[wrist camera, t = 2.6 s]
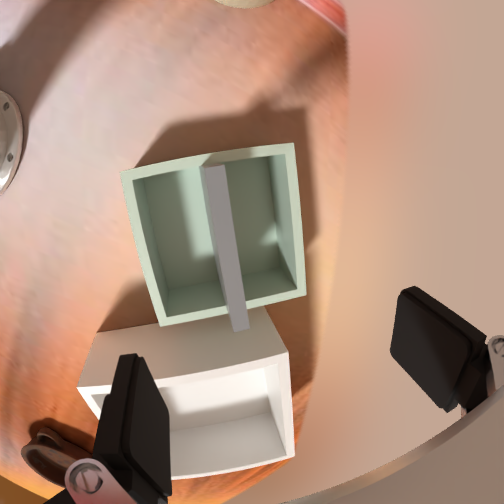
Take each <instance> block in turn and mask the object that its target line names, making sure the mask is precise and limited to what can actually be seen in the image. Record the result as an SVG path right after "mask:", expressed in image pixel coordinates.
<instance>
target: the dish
mask: <svg viewBox="0 0 504 504" xmlns="http://www.w3.org/2000/svg"><path fill="white" fill-rule="evenodd" d="M21 455H22V457H23V459H24V461H25V462H26V463H27V464H28V465H29V466H30V467H31V468H32V469H33V470H34V471H35V472H36V473H38V474H39V475H40V476H42V477H43V478H45V479H46V480H48V481H50V482H52V483H54V484H56V485H58V486H61V487H63V488H66V485H65V475H66V471H67V470H68V468H69V467H70V466H71V465H72V464H73V463H74V462H76V461H78V460H80V459H86V458H89V459H92V455H91V454H90V453H88V452H86V451H85V450H83V449H82V448H80V447H78V446H76V445H74V444H72V443H69V442H67V441H64V440H63V439H62V438H61V437H60V436H59V435H58V434H57V433H56V432H55V431H53V430H52V429H50V428H46V427H43V428H41V429H40V430H39V432H38V433H37V437H35V438H33V439H32V440H31V441H30V442H29V443H28V444H27V445H26V446H24V447H23V448H22V450H21Z"/></svg>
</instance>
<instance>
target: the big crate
mask: <svg viewBox="0 0 504 504" xmlns="http://www.w3.org/2000/svg"><path fill="white" fill-rule="evenodd" d="M247 313H248V319H249V325H250V329H247V330H243V331H238V332H233V328H232V325H231V321H230V318H229V314H223V315H218V316H213V317H209V318H204V319H199V320H194V321H188V322H183V323H178V324H173V325H167V326H162V327H160V325H159V323H154V324H148V325H142V326H136V327H130V328H124V329H118V330H111V331H105V332H98V333H96V335H95V338H94V340H93V343H92V346H91V348H90V351H89V354H88V356H87V359H86V362H85V365H84V367H83V370H82V373H81V376H80V379H79V382H78V385H77V389H78V390H79V392H80V393H81V395H82V396H83V398H84V399H85V401H86V402H87V404H88V405H89V407H90V408H91V410H92V411H93V412H94V414H95V415H96V417H97V418H98V419H100V414H101V410H102V406H103V401H104V398H105V396H106V395H107V394H110V391H111V387H112V383H113V379H114V375H115V371H116V367H117V363H118V359H119V356H120V355H124V354H132V353H137V354H138V356H139V357H144V359H145V361H146V363H147V366H148V368H149V370H150V372H151V375H152V377H153V379H154V381H155V383H156V385H157V388H158V390H159V392H160V394H161V396H162V398H163V400H164V402H165V404H166V406H167V408H168V411H169V416H170V461H171V480H175V479H186V478H195V477H203V476H210V475H216V474H222V473H228V472H233V471H239V470H243V469H248V468H253V467H257V466H261V465H265V464H269V463H273V462H277V461H281V460H284V459H288V458H291V457H294V456H295V451H294V431H293V413H292V396H291V381H290V367H289V353H288V350H287V348H286V346H285V345H284V343H283V341H282V339H281V337H280V335H279V333H278V331H277V330H276V328H275V326H274V324H273V322H272V320H271V318H270V316H269V315H268V313H267V311H266V309H265V307H264V306H259V307H255V308H250V309H247Z"/></svg>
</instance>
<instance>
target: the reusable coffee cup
mask: <svg viewBox="0 0 504 504" xmlns="http://www.w3.org/2000/svg"><path fill="white" fill-rule="evenodd" d="M215 1H217V2H219V3H221V4H224V5H227V6H231V7H235V8H256V7H261V6H264V5H267V4H269V3H271V2H273V1H274V0H215Z"/></svg>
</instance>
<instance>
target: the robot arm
mask: <svg viewBox="0 0 504 504" xmlns="http://www.w3.org/2000/svg"><path fill="white" fill-rule="evenodd" d="M22 142H23V125H22V118H21V114H20V111H19V108H18V106H17V104H16V102H15V100H14V99H13V98H12V97H11V96H10V95H9V94H7V93H5V92H3V91H0V195H1V194H2V193H3V192H4V191H5V190H6V188H7V187H8V185H9V184H10V182H11V180H12V178H13V176H14V174H15V172H16V169H17V166H18V163H19V159H20V155H21V150H22ZM486 337H487V336H486V335H485V334H484V333H482V332H481V331H480V330H478V329H477V328H475V327H474V326H473V325H471V324H470V323H469V322H467V321H466V320H464V319H463V318H462V317H460V316H459V315H457V314H456V313H455V312H453V311H452V310H450V309H448V308H447V307H446V306H445V305H443V304H442V303H440V302H439V301H437V300H436V299H434V298H433V297H431V296H430V295H429V294H427V293H426V292H424V291H422V290H421V289H420V288H418V287H416V286H412V287H409V288H406V289H404V290H402V291H401V293H400V295H399V296H398V300H397V308H396V315H395V322H394V329H393V335H392V341H391V347H390V353H391V355H392V357H393V358H394V359H395V360H396V361H397V362H398V364H399V365H400V366H401V367H402V368H403V369H404V370H405V371H406V372H407V373H408V374H409V375H410V376H411V377H412V379H413V380H414V381H415V382H416V383H417V384H418V385H419V386H420V387H421V388H422V390H423V391H424V392H426V394H427V395H428V396H429V397H430V398H431V399H432V401H434V403H435V404H436V405H437V406H438V407H439V408H443V409H444V410H445V411H446V412H447V413H448V412H450V411H451V410H452V409H454V408H455V407H457V405H458V403H459V404H460V405H461V419H460V420H458V421H457V422H455V423H454V424H453V425H451V426H450V427H448V428H447V429H446V430H444V431H442V432H441V433H439V434H438V435H436V436H435V437H433V438H432V439H430V440H428V441H427V442H425V443H423V444H422V445H420V446H419V447H417V448H415V449H414V450H411V451H410V452H408V453H406V454H404V455H402V456H401V457H399V458H397V459H395V460H393V461H391V462H389V463H387V464H385V465H383V466H381V467H379V468H377V469H375V470H373V471H370V472H368V473H366V474H364V475H362V476H359V477H357V478H355V479H352V480H350V481H347V482H345V483H342V484H340V485H337V486H335V487H332V488H329V489H326V490H323V491H320V492H317V493H314V494H311V495H309V496H305V497H302V498H299V499H295V500H291V501H288V502H284V503H280V504H504V336H502V335H498V336H494V337H492V338H491V339H490V340H489V342H488V344H487V345H486V344H485V340H486ZM65 485H66V488H65V489H64V490H62V491H61V492H60V493H58V494H57V495H55V496H54V497H52V498H51V499H49V500H48V501H47V502H45V503H44V504H168V498H167V496H171V495H172V482H171V461H170V416H169V411H168V408H167V406H166V404H165V402H164V400H163V398H162V396H161V394H160V392H159V390H158V388H157V385H156V383H155V381H154V379H153V377H152V375H151V372H150V370H149V368H148V366H147V363H146V361H145V359H144V357H139V356H138V354H137V353H132V354H124V355H120V356H119V359H118V363H117V367H116V371H115V375H114V379H113V383H112V387H111V391H110V394H107V395H106V396H105V398H104V401H103V406H102V410H101V414H100V419H99V423H98V428H97V433H96V438H95V444H94V449H93V455H92V459H89V458H86V459H80V460H78V461H76V462H74V463H73V464H72V465H71V466H70V467H69V468H68V470H67V471H66V475H65Z"/></svg>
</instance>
